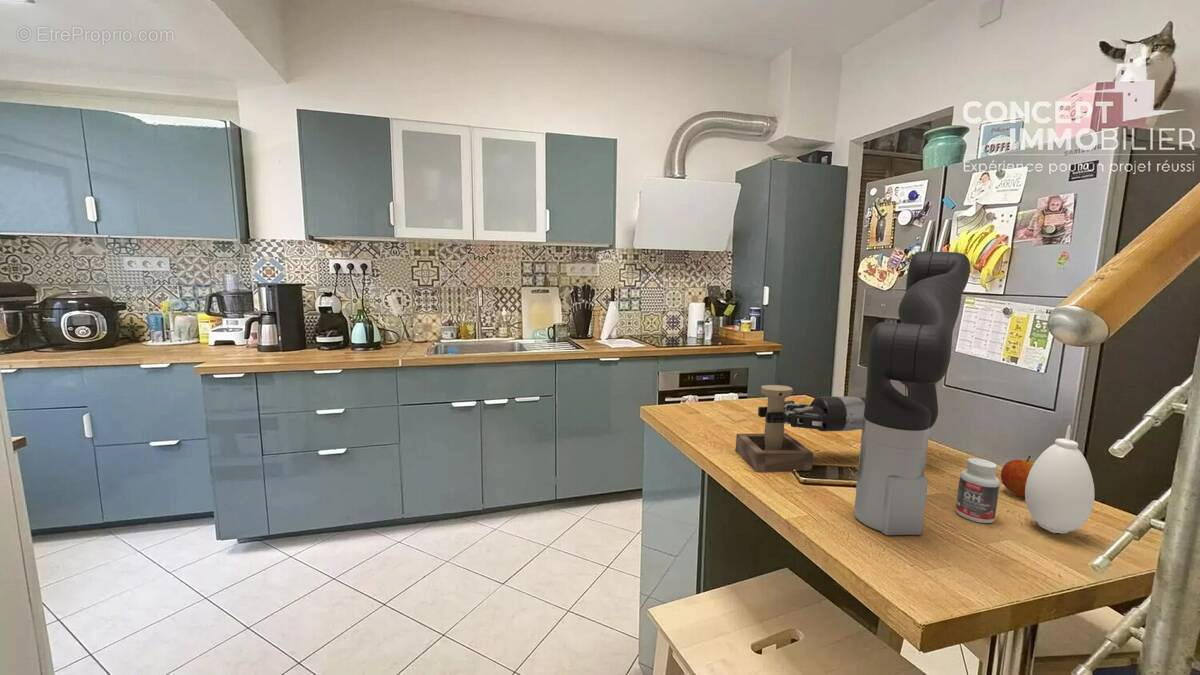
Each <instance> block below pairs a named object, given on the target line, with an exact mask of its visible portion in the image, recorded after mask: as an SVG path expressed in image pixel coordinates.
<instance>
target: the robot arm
mask: <svg viewBox="0 0 1200 675" xmlns="http://www.w3.org/2000/svg"><path fill="white" fill-rule="evenodd" d="M908 264H909V265H908V269H907V274H906V285H905V293H904V295H903V297H902V299H901V301H900V303H899V305H898V318H899V321H900V322H889V321H885V322H884V321H881V322H878V323H877V324H875V325H874V327H873V328H872V330H871V333H870V335H869V339H868V346H867V365H866V366H867V367H866V369H867V370H866V388H865V395H864V396H865V397H864V396H863V397H862V396H861V397H858V396H857V397H854V396H846V395H845V396H817V397H815V398H814V399H813V400H812V402H811V403H810V404H808V403H804V402H799V403H795V401H794V400H785V401H784V412H767V406H759V407H758V409H757V416H758V417H760V418H765V422H767V423H783V422H784V425H790V427H792V428H801V429H809V430H810V429H811V430H817V431H819V432H850V431H851V432H852V431H858V430H861V435H860V436H861V438H860V447H859V456H858V457H859V458H858V466H857V478H856V486H855V487H856V488H855V496H854V497H855V498H854V508H853V515H854V517H855V518H856V519H857V520H858V521H859V522H860V523H862V524H864V525H865V526H867V527H869V528H871V529H873V530H875V531H879V532H880V533H882V534H884V535H885V536H907V535H908V536H915V535H918V536H920V535H922V534H923V528H924V519H925V512H926V503H927V495H928V494H927V493H928V487H929V478H928V477H927V476H925V471H926V470H925V469H926V463H927V453H928V446H929V438H930V437H929V436H930V430H931V428H933V426H934V425H935V423H936V422H937V419H938V416H939V404H938V397H937V396H938V395H937V394H938V393H937V386H936V384H937V383H938V382H940V381H941V380H942V379H943V378H944V377H945V375H946V373H947V371H948V368H949V365H950V361H951V356H952V344H953V333H954V332H953V331H954V329H955V325H956V323H957V319H958V316H959V313H960V309H961V304H962V297H963V296H962V295H963V293H964V290H966V287H967V284H968V281H969V279H970V276H971V261H970V258H969V257H968V255H966V254H965V253H963V252H962V253H961V252H955V251H928V250H926V251H917V252H915V253H914V254H913V255H912V257H911V258H910V260H909V263H908ZM891 381H895V382H897V381H898V382H899V383H901V384H903V385H904V386H905V388H906V395H904V394H903V393H901V392H900V391H899V390H898V389H896V388H895V387H894V386H893V384H892V382H891Z"/></svg>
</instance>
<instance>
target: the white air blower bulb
mask: <svg viewBox="0 0 1200 675" xmlns="http://www.w3.org/2000/svg"><path fill="white" fill-rule="evenodd" d="M1071 429H1072V428H1071V424H1069V425H1068V426H1067V428H1066V432H1065V433H1066V434H1065V438H1056V439H1055V440H1054V444H1051V445H1050V446H1049V447H1047V448H1046V449H1045V450H1044V451H1043V452H1042V453H1041V454H1040V455H1039V456H1038V457H1037V459H1036V460H1035V461H1034V462H1035V463H1034V464H1033V466H1032V468H1031V470H1030V472H1029V475H1028V478H1027V481H1026V487H1025V498H1024V500H1025V504H1026V507H1027V510H1028V512H1029V514H1030V516H1031V518H1032V519H1033V520H1034V521H1036V522H1037V524H1038V525H1039V526H1040V527H1041V528H1043V529H1046V530H1045V531H1047V530H1048V531H1050V532H1049V533H1051V532H1053V533H1052V534H1055V533H1060V534H1068V533H1069V532H1075V531H1077V530H1079V529H1080V528H1082V527H1083V526H1084V524H1085V523H1086V522H1087V521H1088V520H1089V518H1090V516H1091V514H1092V511H1093V508H1094V504H1095V484H1094V480H1093V475H1092V471H1091V469H1090V468H1091V467H1090V466H1089V464H1088V462H1087V459H1086V458H1085V456H1084V455H1083V453H1082V452H1081V450H1080V449H1078V448H1079V443H1078V442H1077V441H1075V440H1071V439H1070V438H1071ZM1048 531H1047V532H1048Z"/></svg>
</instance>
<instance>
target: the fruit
mask: <svg viewBox="0 0 1200 675" xmlns="http://www.w3.org/2000/svg"><path fill="white" fill-rule="evenodd" d="M1031 457H1032V456H1031V455H1028V458H1026V459H1021V458H1020V459H1018V458H1017V459H1011V460H1009V461H1007V462H1006V463H1004V465H1003V467H1002V468H1001V471H1000V480H1001V483H1002V484H1003V486H1004V488H1006V489H1007V490H1008V491H1009V492H1011V493H1012V494H1013V495H1015V496H1017V497H1019V498H1024V499H1025V487H1026V481H1027V478H1028V475H1029V472H1030V470H1031V468H1032V466H1033V464H1034V463H1035V461H1033V460H1031Z"/></svg>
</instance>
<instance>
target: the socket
mask: <svg viewBox="0 0 1200 675" xmlns="http://www.w3.org/2000/svg"><path fill="white" fill-rule="evenodd" d="M764 434H765V433H736V436H735V440H736V441H735V451H736V453H737V454H739V456H740V457H742V459H743V460H744V461H745V462H746V463H747V464H748V465H749V466H750V467H751V468H752V469H753V470H754V471H755V472H756V473H763V472H764V473H765V472H766V473H767V472H769V473H771V472H772V473H774V472H779V473H782V472H789V473H790V472H794V471H793V470H794V469H795V468H812V469H813V462H814V452H813V451H811V450H810V449H809V448H808V447H806V446H805V445H803V444H802V443H800V441H798V440H796V439H795V438H794V437H792V436H791V435H790V434H788V433H786V432H784V437H783V444H782V448H780V449H781V450H765V447H766V446H765V436H764Z"/></svg>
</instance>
